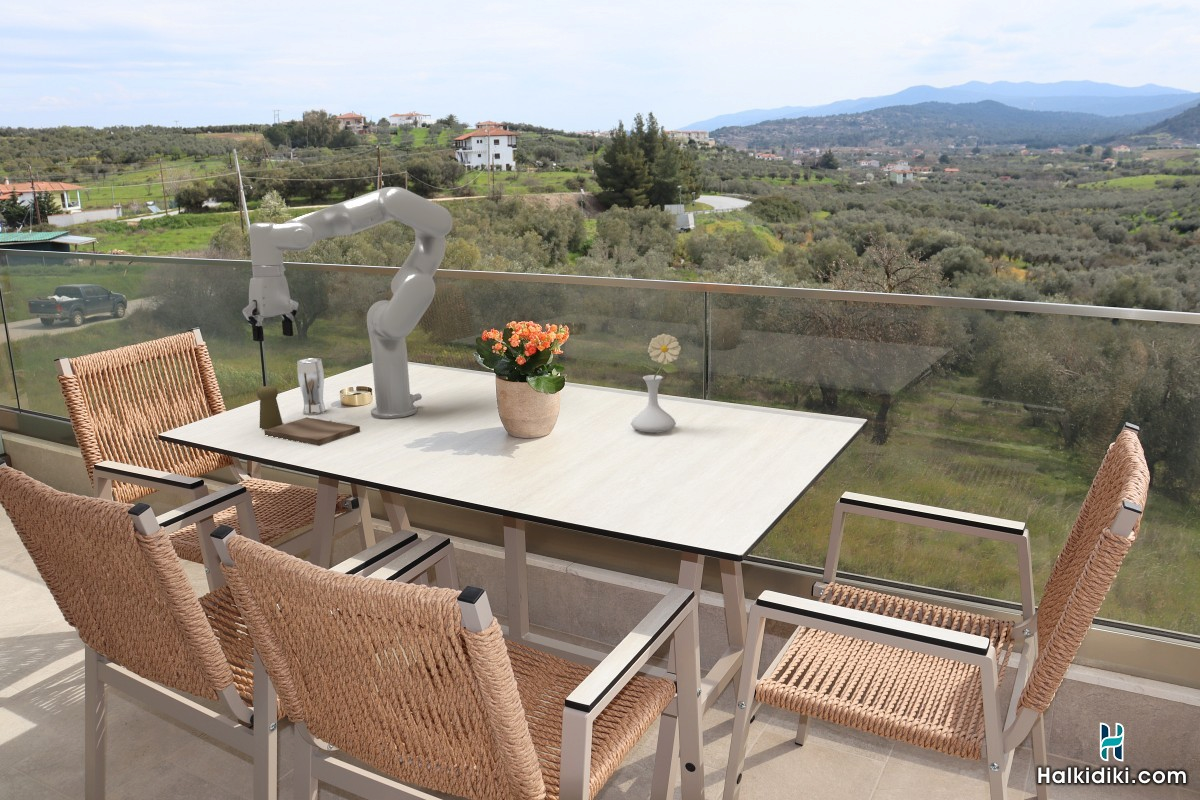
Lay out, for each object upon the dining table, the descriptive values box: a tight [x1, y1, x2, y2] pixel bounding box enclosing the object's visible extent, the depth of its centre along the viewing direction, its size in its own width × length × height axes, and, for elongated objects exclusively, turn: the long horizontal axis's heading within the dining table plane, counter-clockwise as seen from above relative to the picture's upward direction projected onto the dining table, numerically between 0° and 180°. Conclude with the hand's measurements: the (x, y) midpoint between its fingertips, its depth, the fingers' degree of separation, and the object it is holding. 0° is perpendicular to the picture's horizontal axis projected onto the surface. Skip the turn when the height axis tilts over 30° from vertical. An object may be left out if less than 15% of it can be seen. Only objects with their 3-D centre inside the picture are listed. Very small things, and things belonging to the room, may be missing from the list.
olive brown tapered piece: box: [256, 385, 284, 430], centre depth 244 cm, size 6×6×11 cm
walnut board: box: [263, 417, 361, 446], centre depth 237 cm, size 14×20×2 cm
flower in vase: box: [630, 333, 682, 433], centre depth 229 cm, size 13×11×25 cm
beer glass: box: [296, 357, 327, 415], centre depth 258 cm, size 7×7×15 cm
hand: (273, 338), depth 236 cm, fingers open, 9 cm apart
